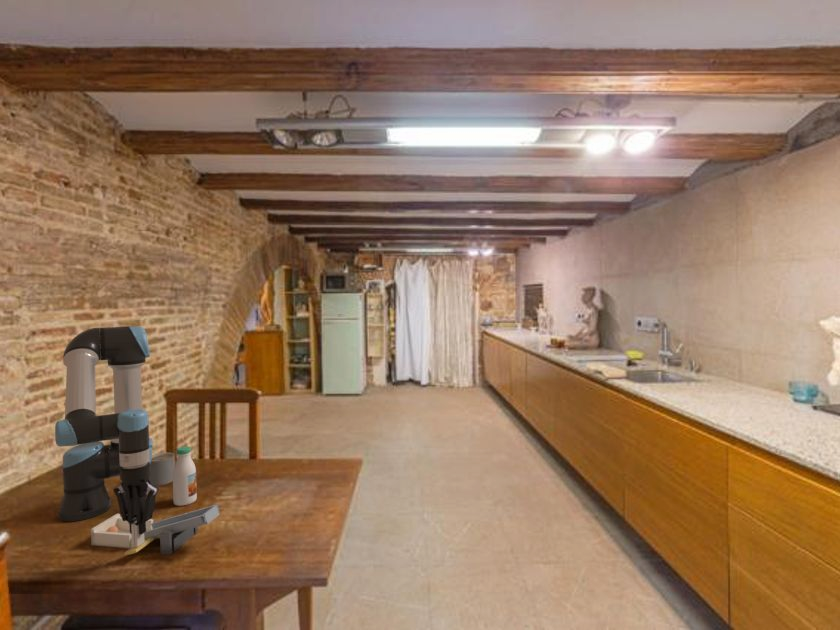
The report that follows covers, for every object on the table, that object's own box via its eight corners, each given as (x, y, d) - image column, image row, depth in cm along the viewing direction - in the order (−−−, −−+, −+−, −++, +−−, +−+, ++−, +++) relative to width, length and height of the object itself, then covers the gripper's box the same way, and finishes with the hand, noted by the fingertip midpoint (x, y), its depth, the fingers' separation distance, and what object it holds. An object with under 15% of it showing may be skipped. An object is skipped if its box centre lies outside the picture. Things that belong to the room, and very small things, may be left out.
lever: (119, 557, 131) (115, 547, 131) (158, 529, 147) (155, 520, 147) (190, 538, 127) (187, 527, 127) (223, 511, 143) (220, 502, 143)
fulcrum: (160, 554, 134) (159, 532, 134) (188, 531, 147) (188, 511, 147) (169, 555, 134) (169, 533, 133) (197, 532, 146) (196, 512, 146)
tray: (91, 545, 139) (90, 529, 139) (117, 528, 149) (117, 513, 149) (129, 548, 137) (128, 532, 137) (153, 531, 147) (153, 516, 147)
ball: (102, 531, 143) (109, 527, 142) (110, 526, 145) (117, 522, 145) (107, 540, 142) (114, 536, 142) (114, 535, 145) (122, 531, 145)
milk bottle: (181, 508, 163) (179, 453, 162) (169, 503, 167) (167, 449, 166) (201, 499, 170) (199, 446, 169) (189, 495, 174) (187, 443, 173)
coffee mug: (180, 476, 192) (179, 453, 191) (163, 486, 182) (162, 461, 181) (152, 474, 194) (151, 451, 194) (134, 484, 184) (133, 459, 184)
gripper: (104, 468, 130) (107, 549, 130) (146, 470, 128) (149, 552, 128) (124, 459, 137) (128, 536, 138) (164, 460, 135) (168, 538, 136)
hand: (138, 544), depth 133 cm, fingers closed
